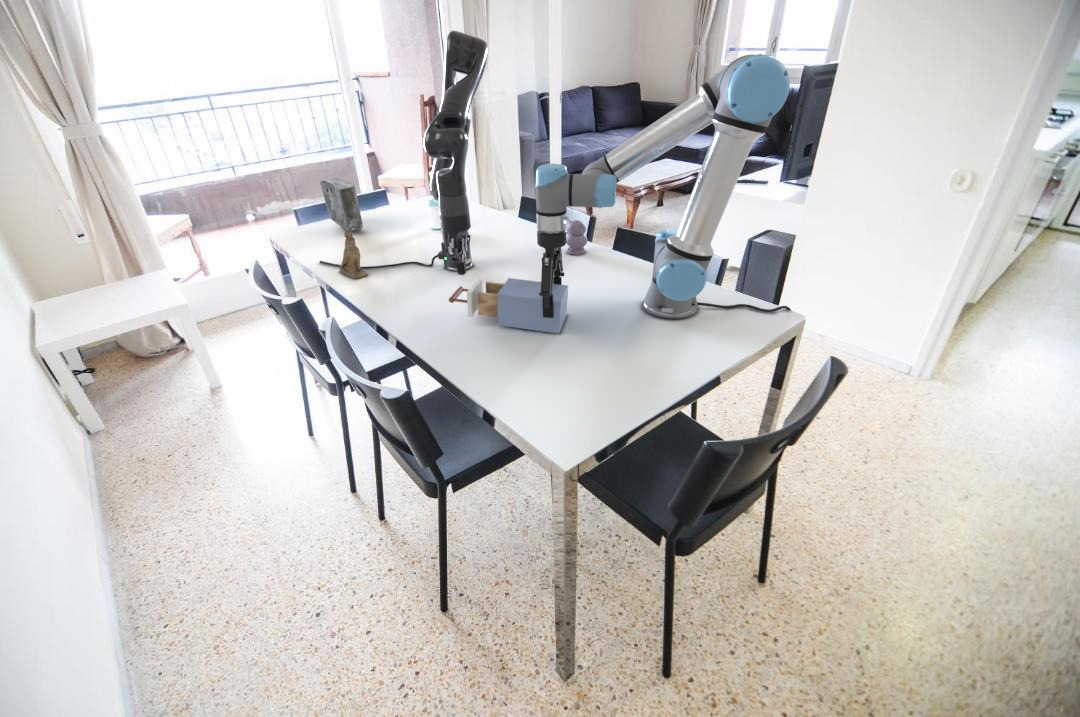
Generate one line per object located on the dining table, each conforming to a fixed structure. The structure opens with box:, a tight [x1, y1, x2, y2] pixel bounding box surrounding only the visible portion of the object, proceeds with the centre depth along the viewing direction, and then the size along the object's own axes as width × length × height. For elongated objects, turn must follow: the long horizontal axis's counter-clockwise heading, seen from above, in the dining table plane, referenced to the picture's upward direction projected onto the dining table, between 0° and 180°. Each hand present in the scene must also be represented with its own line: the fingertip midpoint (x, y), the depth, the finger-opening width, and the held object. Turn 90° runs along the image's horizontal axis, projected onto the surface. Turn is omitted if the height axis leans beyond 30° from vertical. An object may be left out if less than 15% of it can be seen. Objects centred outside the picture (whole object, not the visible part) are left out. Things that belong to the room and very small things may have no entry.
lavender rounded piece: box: [566, 219, 588, 256], centre depth 186 cm, size 8×8×12 cm
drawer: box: [448, 277, 505, 319], centre depth 141 cm, size 22×10×8 cm, turn 77°
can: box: [426, 198, 442, 230], centre depth 220 cm, size 7×7×12 cm
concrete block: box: [319, 177, 364, 232], centre depth 222 cm, size 27×9×20 cm, turn 36°
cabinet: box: [497, 277, 569, 335], centre depth 139 cm, size 17×11×10 cm, turn 77°
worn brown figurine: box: [339, 230, 367, 280], centre depth 174 cm, size 12×6×18 cm, turn 43°
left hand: (462, 273), depth 138 cm, fingers closed
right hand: (552, 307), depth 138 cm, fingers closed on cabinet, 11 cm apart
